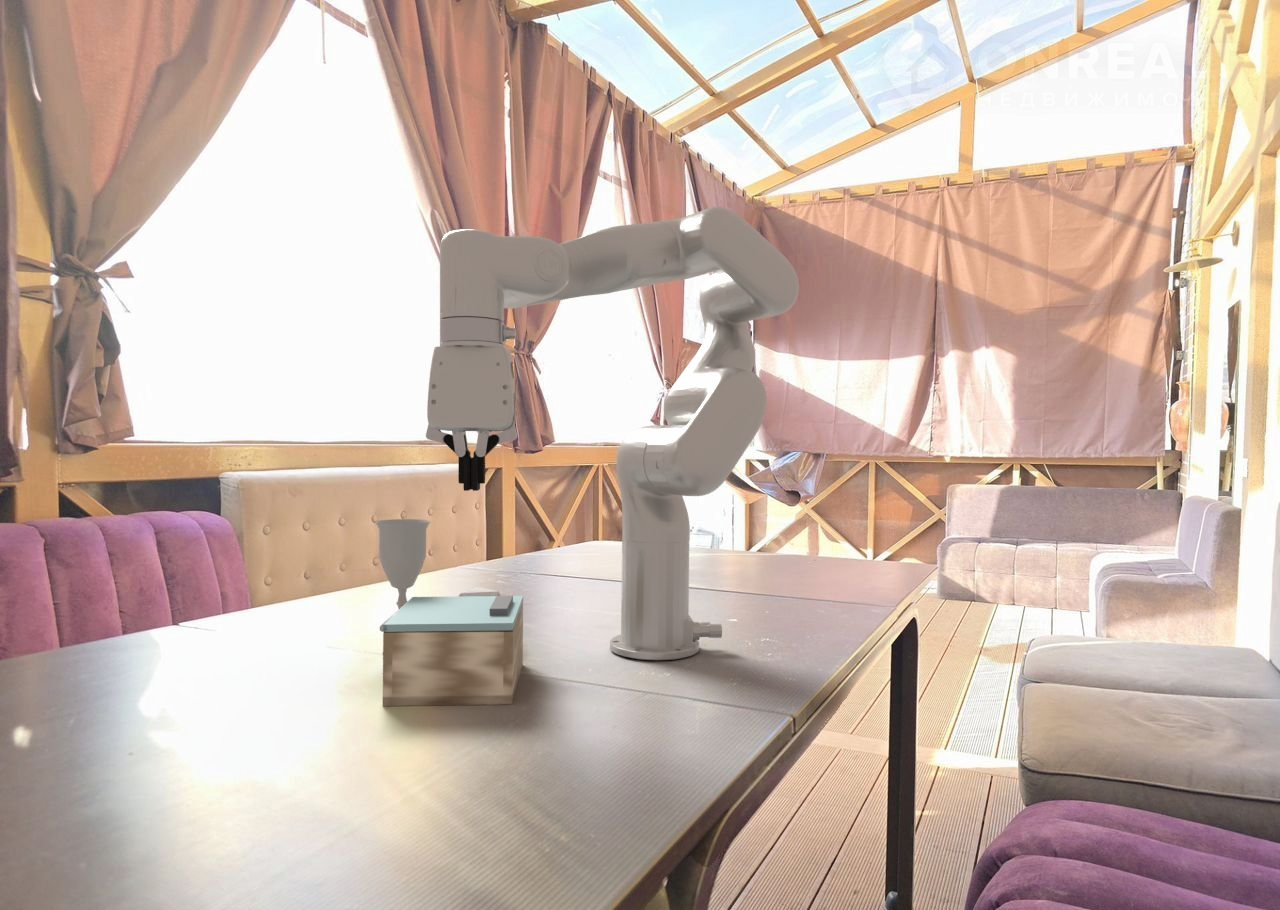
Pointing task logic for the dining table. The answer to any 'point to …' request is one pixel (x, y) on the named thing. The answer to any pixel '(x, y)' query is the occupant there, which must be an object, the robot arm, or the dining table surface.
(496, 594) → the die
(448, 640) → the chest
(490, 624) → the lid
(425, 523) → the chalice
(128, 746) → the dining table surface
